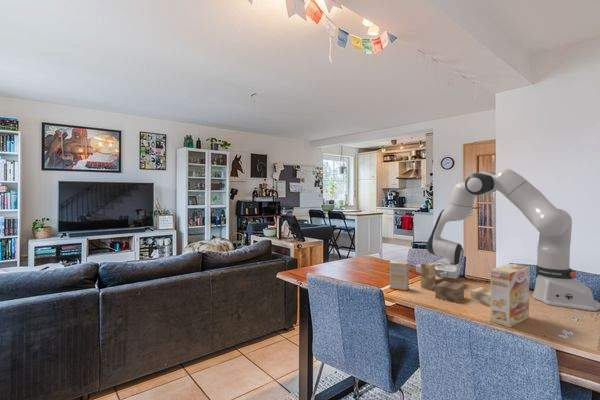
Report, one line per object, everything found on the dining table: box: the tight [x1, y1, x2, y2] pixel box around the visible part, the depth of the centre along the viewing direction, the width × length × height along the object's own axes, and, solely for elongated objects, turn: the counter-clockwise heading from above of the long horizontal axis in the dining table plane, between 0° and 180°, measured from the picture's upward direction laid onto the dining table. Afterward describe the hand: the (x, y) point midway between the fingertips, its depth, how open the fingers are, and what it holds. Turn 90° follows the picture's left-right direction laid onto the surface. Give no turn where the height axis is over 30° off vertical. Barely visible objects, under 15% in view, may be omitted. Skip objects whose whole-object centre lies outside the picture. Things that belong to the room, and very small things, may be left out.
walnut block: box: [435, 280, 465, 304], centre depth 145 cm, size 9×9×6 cm
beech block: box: [470, 286, 491, 308], centre depth 139 cm, size 8×8×5 cm
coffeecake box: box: [489, 263, 530, 328], centre depth 121 cm, size 15×7×20 cm, turn 123°
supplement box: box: [389, 260, 410, 292], centre depth 160 cm, size 8×5×13 cm, turn 58°
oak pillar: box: [420, 261, 436, 291], centre depth 160 cm, size 5×5×12 cm
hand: (430, 273), depth 162 cm, fingers open, 8 cm apart
